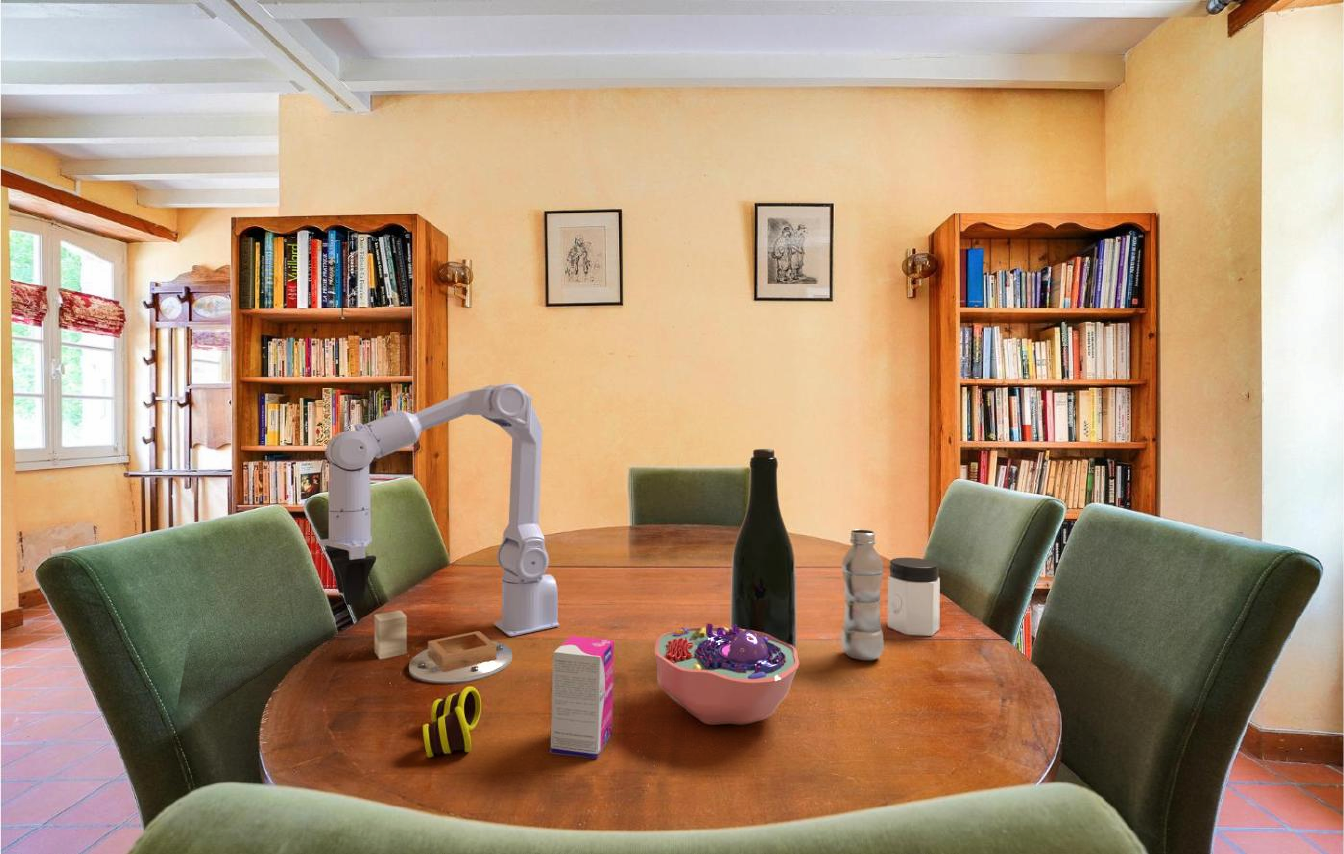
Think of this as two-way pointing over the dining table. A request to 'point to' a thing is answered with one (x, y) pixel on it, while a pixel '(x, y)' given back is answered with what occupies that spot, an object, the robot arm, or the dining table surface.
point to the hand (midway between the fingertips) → (350, 597)
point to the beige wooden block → (390, 634)
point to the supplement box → (582, 696)
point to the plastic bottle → (862, 598)
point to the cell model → (725, 672)
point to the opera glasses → (452, 722)
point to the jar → (914, 596)
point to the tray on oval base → (460, 659)
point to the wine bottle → (764, 559)
